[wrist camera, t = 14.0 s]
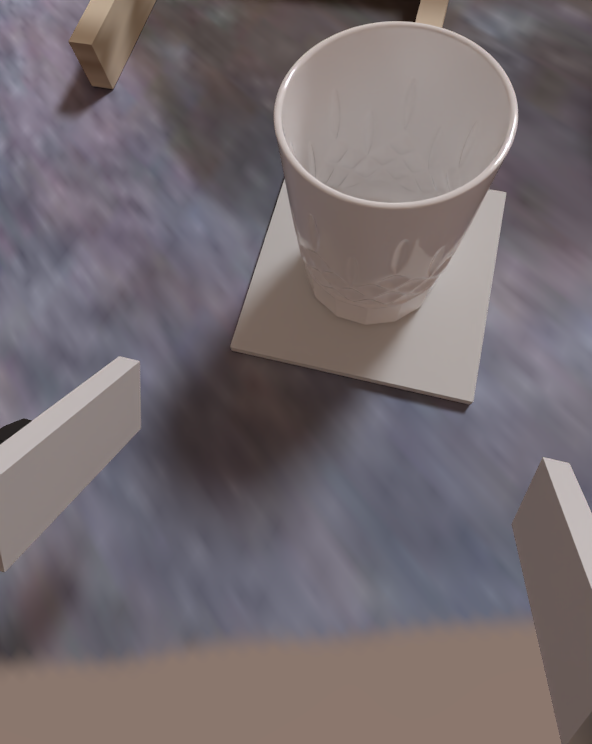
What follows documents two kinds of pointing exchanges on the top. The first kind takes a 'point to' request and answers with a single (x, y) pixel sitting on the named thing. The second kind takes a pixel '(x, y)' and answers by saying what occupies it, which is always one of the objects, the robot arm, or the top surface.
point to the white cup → (389, 159)
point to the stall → (125, 22)
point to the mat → (384, 340)
